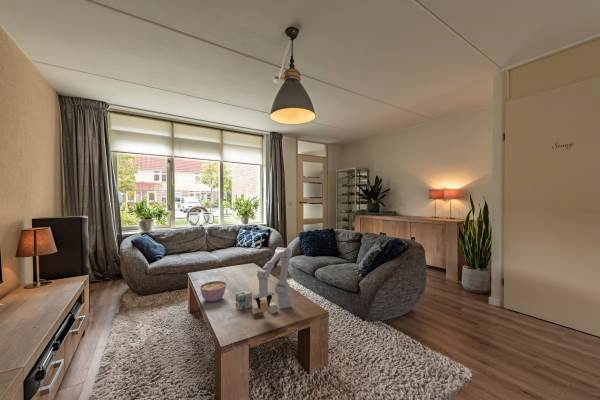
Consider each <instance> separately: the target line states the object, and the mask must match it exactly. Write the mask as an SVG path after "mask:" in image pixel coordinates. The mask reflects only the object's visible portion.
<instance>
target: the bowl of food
mask: <svg viewBox="0 0 600 400" xmlns="http://www.w3.org/2000/svg"><path fill="white" fill-rule="evenodd" d="M226 286H227V283H226V282H225V281H222V280H216V281H215V280H213V281H207V282H205V283H203V284H201V285H200V286H199V289H200V293H201V297H202V298H203V300H205V301H207V302H210V303H213V302H217V301H219V300H220V299H222V298H223V297H224V295H225V292H226Z"/></svg>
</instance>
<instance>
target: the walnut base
mask: <svg viewBox="0 0 600 400" xmlns="http://www.w3.org/2000/svg"><path fill="white" fill-rule="evenodd" d="M264 313H265V311H264V312H260V309H258V307H256V308H251V316H252V318H253V319H257V318H262V317H264Z"/></svg>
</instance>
